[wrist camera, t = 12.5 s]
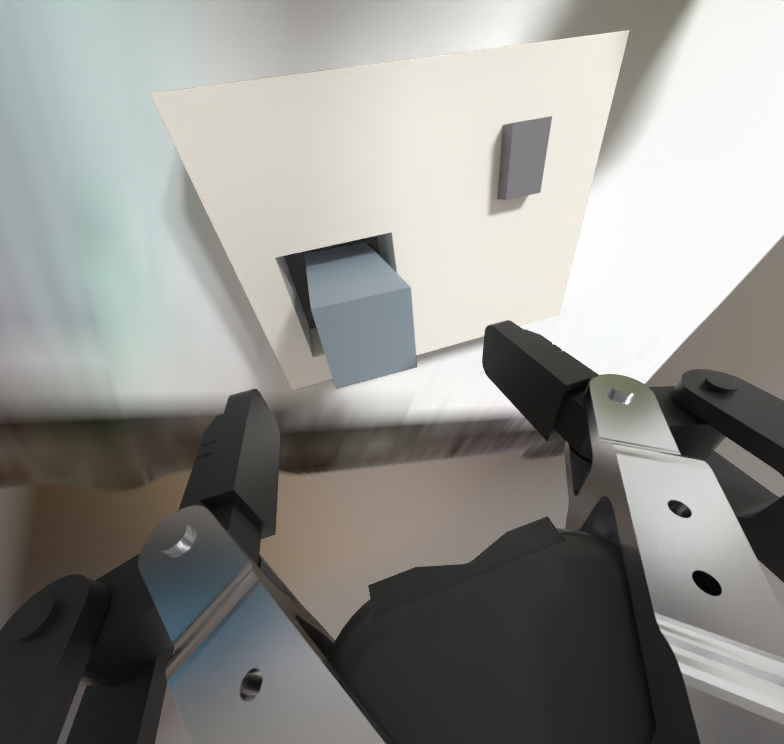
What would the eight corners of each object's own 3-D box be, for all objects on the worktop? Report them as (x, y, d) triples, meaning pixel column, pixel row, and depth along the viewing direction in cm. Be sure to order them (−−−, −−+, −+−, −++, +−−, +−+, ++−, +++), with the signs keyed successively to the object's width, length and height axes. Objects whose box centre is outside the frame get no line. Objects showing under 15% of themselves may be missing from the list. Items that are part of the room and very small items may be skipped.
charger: (304, 254, 18) (310, 309, 11) (365, 241, 18) (410, 287, 11) (321, 312, 20) (335, 388, 13) (375, 300, 21) (417, 367, 14)
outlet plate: (184, 112, 13) (139, 88, 9) (562, 58, 16) (647, 22, 12) (292, 358, 21) (292, 398, 18) (524, 296, 24) (567, 319, 20)
